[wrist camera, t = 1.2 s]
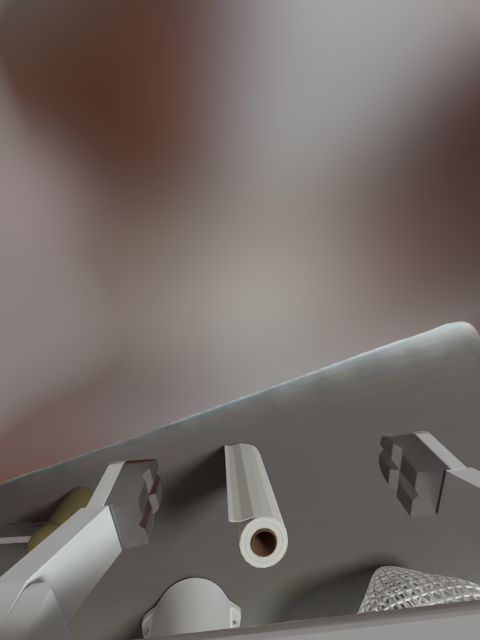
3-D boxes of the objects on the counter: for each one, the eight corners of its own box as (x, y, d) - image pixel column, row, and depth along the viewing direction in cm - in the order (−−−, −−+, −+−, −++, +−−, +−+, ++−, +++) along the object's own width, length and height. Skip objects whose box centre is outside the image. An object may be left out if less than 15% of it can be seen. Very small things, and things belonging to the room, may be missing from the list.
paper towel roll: (264, 465, 52) (296, 556, 31) (237, 478, 52) (250, 579, 30) (251, 432, 52) (274, 500, 31) (224, 444, 52) (228, 522, 31)
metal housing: (51, 587, 48) (37, 607, 44) (-18, 592, 47) (-37, 613, 43) (54, 520, 48) (41, 535, 45) (-14, 524, 47) (-33, 539, 44)
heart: (325, 627, 52) (406, 847, 29) (311, 549, 52) (379, 708, 30) (449, 589, 54) (609, 766, 32) (434, 516, 55) (581, 639, 33)
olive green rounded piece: (101, 509, 49) (67, 560, 38) (71, 525, 49) (28, 581, 38) (88, 481, 49) (50, 523, 38) (57, 496, 49) (11, 544, 38)
